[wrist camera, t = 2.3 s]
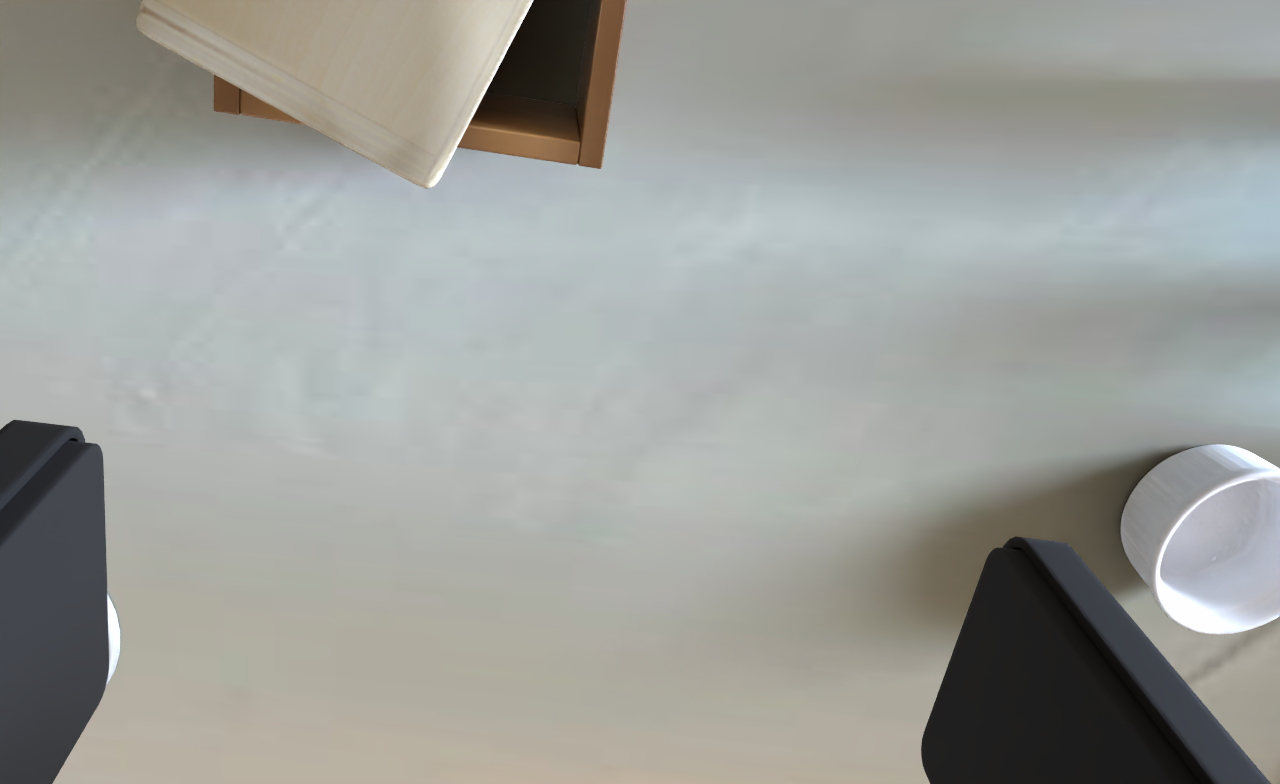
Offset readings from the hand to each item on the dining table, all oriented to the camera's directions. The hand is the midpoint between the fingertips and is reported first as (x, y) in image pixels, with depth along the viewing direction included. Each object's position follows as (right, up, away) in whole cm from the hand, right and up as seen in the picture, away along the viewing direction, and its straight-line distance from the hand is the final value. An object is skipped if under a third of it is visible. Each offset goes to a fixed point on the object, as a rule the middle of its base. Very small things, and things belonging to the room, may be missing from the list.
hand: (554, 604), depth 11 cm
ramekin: (+29, -4, +42) cm, 51 cm away
